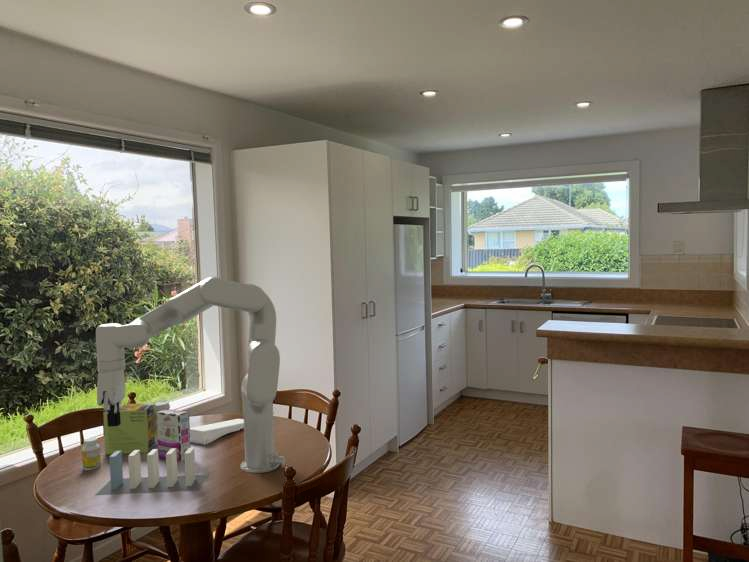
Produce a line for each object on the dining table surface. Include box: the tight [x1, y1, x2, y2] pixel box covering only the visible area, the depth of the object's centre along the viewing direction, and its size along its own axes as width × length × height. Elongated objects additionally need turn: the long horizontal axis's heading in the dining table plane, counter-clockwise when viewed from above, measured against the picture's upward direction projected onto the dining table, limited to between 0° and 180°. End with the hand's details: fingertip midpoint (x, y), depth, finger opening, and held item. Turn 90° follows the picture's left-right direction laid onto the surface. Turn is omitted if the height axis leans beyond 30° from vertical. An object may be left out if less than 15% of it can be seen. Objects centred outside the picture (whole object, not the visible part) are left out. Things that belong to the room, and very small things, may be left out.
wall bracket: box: [190, 418, 244, 446], centre depth 222 cm, size 10×7×28 cm
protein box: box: [102, 402, 158, 455], centre depth 206 cm, size 10×15×16 cm
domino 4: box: [184, 447, 196, 486], centre depth 172 cm, size 2×5×10 cm, turn 3°
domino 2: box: [146, 448, 160, 488], centre depth 172 cm, size 2×5×10 cm, turn 3°
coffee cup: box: [150, 400, 171, 428], centre depth 224 cm, size 8×9×12 cm
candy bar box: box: [156, 408, 191, 463], centre depth 195 cm, size 11×5×16 cm, turn 62°
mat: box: [94, 474, 209, 496], centre depth 172 cm, size 30×12×1 cm, turn 93°
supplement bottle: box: [81, 437, 101, 471], centre depth 188 cm, size 5×5×10 cm
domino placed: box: [109, 451, 124, 490], centre depth 171 cm, size 2×5×10 cm, turn 3°
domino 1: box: [127, 450, 142, 489], centre depth 171 cm, size 2×5×10 cm, turn 3°
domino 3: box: [165, 448, 178, 487], centre depth 172 cm, size 2×5×10 cm, turn 3°
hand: (114, 425), depth 170 cm, fingers closed
